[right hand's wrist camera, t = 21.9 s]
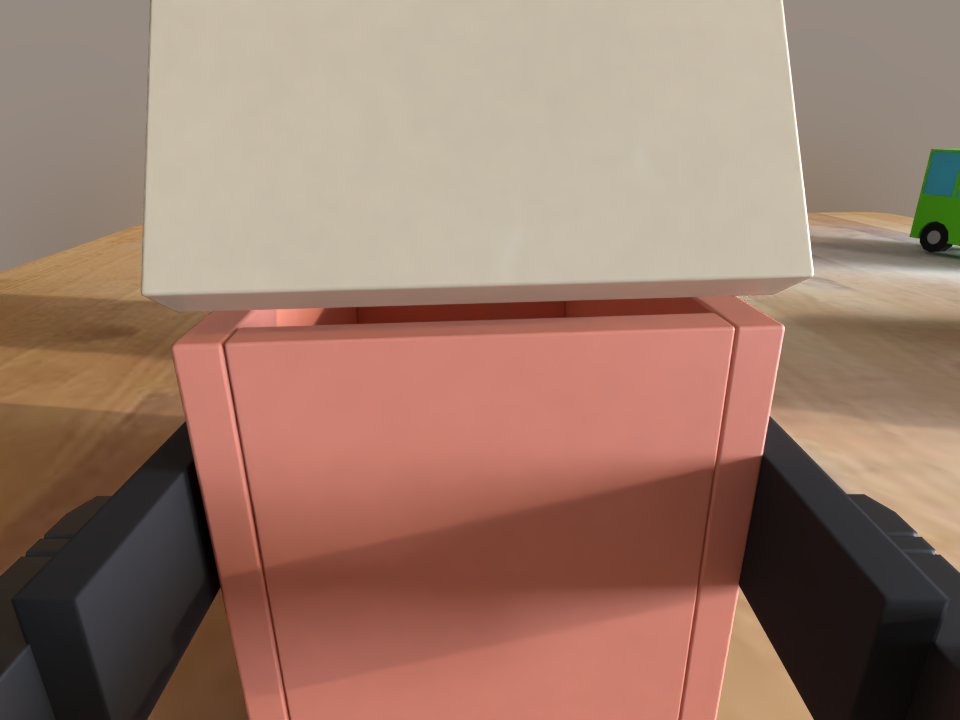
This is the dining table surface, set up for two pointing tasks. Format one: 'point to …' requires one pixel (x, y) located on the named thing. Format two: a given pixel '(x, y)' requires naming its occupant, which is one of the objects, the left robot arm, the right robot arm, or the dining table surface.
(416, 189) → the lid
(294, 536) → the chest
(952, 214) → the toy car
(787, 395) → the dining table surface
